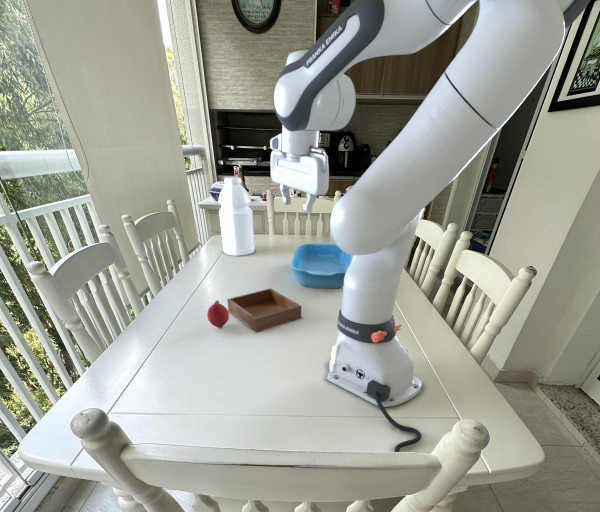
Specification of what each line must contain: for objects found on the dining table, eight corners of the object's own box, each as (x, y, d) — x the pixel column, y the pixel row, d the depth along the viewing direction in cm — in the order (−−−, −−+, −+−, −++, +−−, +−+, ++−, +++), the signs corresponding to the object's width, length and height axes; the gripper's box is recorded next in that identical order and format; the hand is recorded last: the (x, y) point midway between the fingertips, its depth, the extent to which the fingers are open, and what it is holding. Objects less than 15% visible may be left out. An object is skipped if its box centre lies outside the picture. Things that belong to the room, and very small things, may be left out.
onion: (225, 333, 97) (222, 306, 92) (206, 331, 98) (201, 304, 93) (233, 324, 102) (230, 297, 97) (214, 321, 103) (210, 295, 98)
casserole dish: (353, 295, 120) (355, 274, 116) (288, 291, 122) (288, 270, 117) (350, 261, 149) (352, 243, 144) (298, 258, 150) (298, 240, 146)
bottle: (252, 256, 151) (248, 180, 134) (220, 255, 151) (211, 179, 134) (256, 247, 162) (252, 175, 145) (226, 246, 162) (218, 175, 145)
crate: (301, 318, 106) (301, 305, 103) (256, 332, 98) (255, 319, 96) (271, 299, 116) (270, 288, 114) (228, 311, 109) (227, 299, 106)
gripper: (338, 149, 80) (331, 216, 89) (286, 139, 92) (284, 199, 101) (317, 149, 77) (311, 218, 86) (266, 139, 89) (266, 200, 98)
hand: (296, 208), depth 94 cm, fingers open, 8 cm apart
